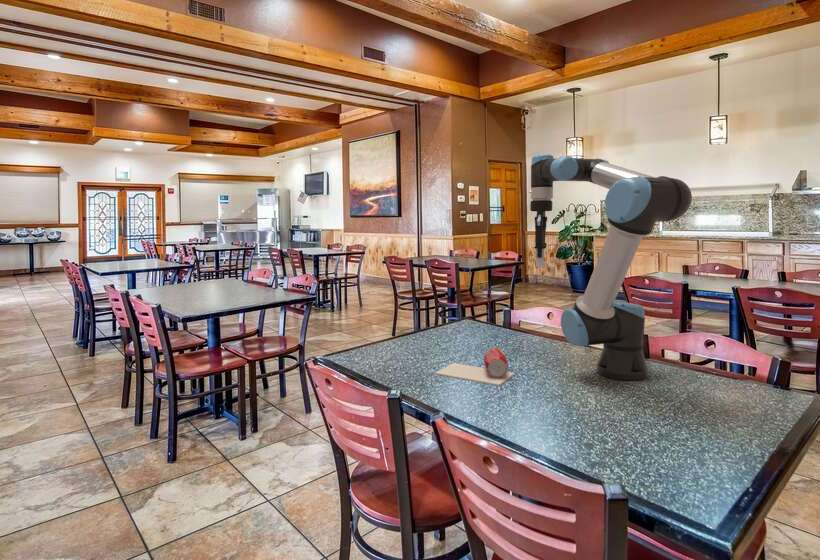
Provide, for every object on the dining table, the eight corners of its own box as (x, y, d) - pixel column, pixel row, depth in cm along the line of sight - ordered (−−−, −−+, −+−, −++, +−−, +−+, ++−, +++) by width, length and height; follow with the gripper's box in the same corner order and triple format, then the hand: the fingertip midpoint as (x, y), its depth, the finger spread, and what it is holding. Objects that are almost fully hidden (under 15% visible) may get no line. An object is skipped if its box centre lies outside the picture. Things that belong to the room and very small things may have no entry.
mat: (514, 374, 161) (514, 372, 161) (499, 385, 150) (499, 384, 150) (453, 364, 172) (453, 363, 172) (434, 374, 161) (434, 372, 161)
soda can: (500, 369, 167) (504, 382, 155) (480, 363, 167) (482, 375, 155) (508, 350, 166) (512, 362, 154) (487, 343, 166) (490, 354, 154)
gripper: (533, 200, 184) (531, 264, 187) (527, 199, 172) (526, 268, 175) (554, 200, 182) (552, 265, 184) (550, 199, 170) (548, 268, 172)
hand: (539, 266), depth 180 cm, fingers closed
